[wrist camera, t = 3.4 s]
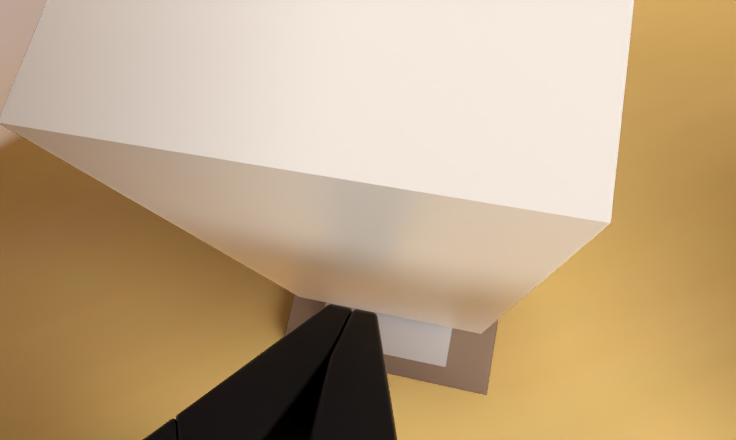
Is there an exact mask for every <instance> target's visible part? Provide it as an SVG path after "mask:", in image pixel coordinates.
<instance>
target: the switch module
mask: <svg viewBox="0 0 736 440" xmlns="http://www.w3.org/2000/svg"><path fill="white" fill-rule="evenodd" d="M633 6H634V0H47V2H46V5H45V7H44V9H43V12H42V14H41V17H40V19H39V22H38V24H37V26H36V29H35V31H34V34H33V36H32V39H31V41H30V44H29V46H28V48H27V51H26V53H25V56H24V59H23V61H22V63H21V66H20V68H19V71H18V73H17V76H16V78H15V80H14V83H13V85H12V88H11V90H10V93H9V95H8V98H7V100H6V103H5V105H4V107H3V110H2V112H1V115H0V124H1V125H2V126H4V127H6V128H8V129H9V130H11V131H13V132H15V133H16V134H18V135H20V136H22V137H23V138H25V139H27V140H28V141H30V142H32V143H34V144H35V145H37V146H39V147H41V148H42V149H44V150H46V151H47V152H49V153H51V154H53V155H54V156H56V157H58V158H60V159H61V160H63V161H65V162H67V163H68V164H70V165H72V166H73V167H75V168H77V169H79V170H80V171H82V172H84V173H86V174H87V175H89V176H91V177H92V178H94V179H96V180H98V181H99V182H101V183H103V184H105V185H106V186H108V187H110V188H112V189H113V190H115V191H117V192H118V193H120V194H122V195H124V196H125V197H127V198H129V199H131V200H132V201H134V202H136V203H137V204H139V205H141V206H143V207H144V208H146V209H148V210H150V211H151V212H153V213H155V214H156V215H158V216H160V217H162V218H163V219H165V220H167V221H169V222H170V223H172V224H174V225H176V226H177V227H179V228H181V229H182V230H184V231H186V232H188V233H189V234H191V235H193V236H195V237H196V238H198V239H200V240H201V241H203V242H205V243H207V244H208V245H210V246H212V247H214V248H215V249H217V250H219V251H221V252H222V253H224V254H226V255H227V256H229V257H231V258H233V259H234V260H236V261H238V262H240V263H241V264H243V265H245V266H246V267H248V268H250V269H252V270H253V271H255V272H257V273H259V274H260V275H262V276H264V277H266V278H267V279H269V280H271V281H272V282H274V283H276V284H278V285H279V286H281V287H283V288H285V289H286V290H288V291H290V292H291V293H293V294H295V295H297V296H298V297H302V298H307V299H312V300H317V301H322V302H327V303H331V304H336V305H341V306H346V307H351V308H356V309H361V310H366V311H371V312H376V313H381V314H386V315H390V316H395V317H400V318H405V319H410V320H415V321H420V322H425V323H430V324H435V325H440V326H445V327H449V328H454V329H459V330H464V331H469V332H474V333H479V334H481V333H483V332H484V331H485V330H486V329H487V328H488V327H490V326H491V325H492V324H493V323H494V322H495V321H497V320H498V319H499V318H500V317H501V316H502V315H504V314H505V313H506V312H507V311H508V310H509V309H511V308H512V307H513V306H514V305H515V304H517V303H518V302H519V301H520V300H521V299H522V298H524V297H525V296H526V295H527V294H528V293H529V292H531V291H532V290H533V289H534V288H535V287H536V286H538V285H539V284H540V283H541V282H542V281H543V280H545V279H546V278H547V277H548V276H549V275H551V274H552V273H553V272H554V271H555V270H556V269H558V268H559V267H560V266H561V265H562V264H563V263H565V262H566V261H567V260H568V259H569V258H570V257H572V256H573V255H574V254H575V253H576V252H577V251H579V250H580V249H581V248H582V247H583V246H584V245H586V244H587V243H588V242H589V241H590V240H592V239H593V238H594V237H595V236H596V235H597V234H599V233H600V232H601V231H602V230H603V229H604V228H606V227H607V226H608V225H609V224H610V223H611V214H612V205H613V196H614V186H615V177H616V167H617V158H618V148H619V139H620V129H621V120H622V110H623V101H624V91H625V82H626V73H627V63H628V54H629V44H630V35H631V25H632V16H633Z"/></svg>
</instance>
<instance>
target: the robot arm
mask: <svg viewBox="0 0 736 440" xmlns="http://www.w3.org/2000/svg"><path fill="white" fill-rule="evenodd" d="M143 440H397V435H396V429H395V422H394V416H393V410H392V404H391V397H390V391H389V385H388V379H387V372H386V366H385V360H384V354H383V347H382V341H381V335H380V329H379V323H378V317H377V314H376V313H374V312H370V311H365V310H360V309H355V310H353V311H352V309H351V308H349V307H345V306H340V305H335V304H329V305H327V306H325V307H324V308H322V309H321V310H320V311H318V312H317V313H316V314H314V315H313V316H312V317H310V318H309V319H307V320H306V321H305V322H303V323H302V324H301V325H299V326H298V327H297V328H295V329H294V330H292V331H291V332H290V333H288V334H287V335H286V336H284V337H283V338H282V339H280V340H279V341H277V342H276V343H275V344H273V345H272V346H271V347H269V348H268V349H267V350H265V351H264V352H262V353H261V354H260V355H258V356H257V357H256V358H254V359H253V360H252V361H250V362H249V363H247V364H246V365H245V366H243V367H242V368H241V369H239V370H238V371H237V372H235V373H234V374H232V375H231V376H230V377H228V378H227V379H226V380H224V381H223V382H222V383H220V384H219V385H217V386H216V387H215V388H213V389H212V390H211V391H209V392H208V393H207V394H205V395H204V396H202V397H201V398H200V399H198V400H197V401H196V402H194V403H193V404H192V405H190V406H189V407H187V408H186V409H185V410H183V411H182V412H181V413H179V414H178V415H177V416H176V420H175V419H171V420H169V421H168V422H167V423H165V424H164V425H163V426H161V427H160V428H159V429H157V430H156V431H154V432H153V433H152V434H150V435H149V436H147V437H146V438H144V439H143Z"/></svg>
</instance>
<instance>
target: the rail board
mask: <svg viewBox="0 0 736 440" xmlns="http://www.w3.org/2000/svg"><path fill="white" fill-rule="evenodd" d="M329 304H331V303H327V302H322V301H317V300H312V299H307V298H302V297H298V296H297V295H294V299H293V303H292V307H291V311H290V315H289V320H288V324H287V328H286V332H285V336H286V335H287V334H288V333H290V332H291V331H292V330H294V329H295V328H297V327H298V326H299V325H301V324H302V323H303V322H305V321H306V320H307V319H309V318H310V317H312V316H313V315H314V314H316V313H317V312H318V311H320V310H321V309H322V308H324V307H325V306H327V305H329ZM335 305H336V304H335ZM340 306H341V305H340ZM345 307H346V306H345ZM349 308H351V307H349ZM351 309H352V311H353V310H355V309H356V308H351ZM360 310H361V309H360ZM365 311H366V310H365ZM370 312H371V311H370ZM374 313H376V312H374ZM376 314H377V317H378V323H379V329H380V335H381V341H382V347H383V354H384V360H385V366H386V372H387V373H389V374H393V375H398V376H402V377H407V378H411V379H416V380H420V381H425V382H429V383H434V384H439V385H443V386H448V387H452V388H457V389H461V390H466V391H470V392H475V393H479V394H484V395H487V390H488V383H489V376H490V370H491V363H492V356H493V350H494V343H495V337H496V330H497V323H498V320H497V321H495V322H494V323H493V324H492V325H491V326H490V327H488V328H487V329H486V330H485V331H484V332H483V333H481V334H479V333H474V332H469V331H464V330H459V329H454V328H449V327H445V326H440V325H435V324H430V323H425V322H420V321H415V320H410V319H405V318H400V317H395V316H390V315H386V314H381V313H376Z"/></svg>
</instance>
